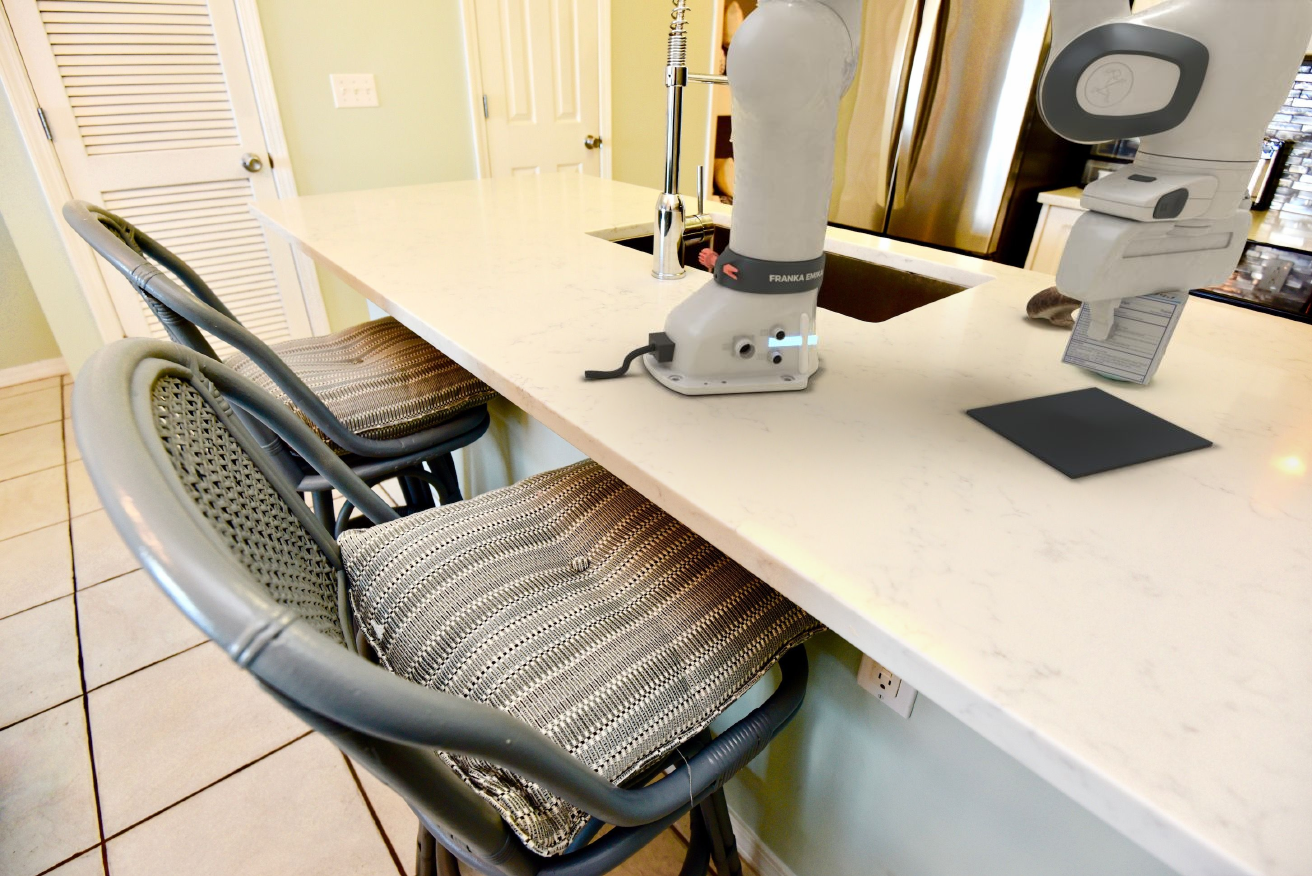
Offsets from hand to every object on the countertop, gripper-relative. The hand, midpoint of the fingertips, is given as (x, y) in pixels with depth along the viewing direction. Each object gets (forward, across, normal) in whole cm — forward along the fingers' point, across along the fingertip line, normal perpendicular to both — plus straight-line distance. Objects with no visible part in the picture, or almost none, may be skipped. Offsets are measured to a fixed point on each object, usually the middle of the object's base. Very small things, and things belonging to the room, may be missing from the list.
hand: (1123, 334), depth 67 cm
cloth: (+11, 0, 0) cm, 11 cm away
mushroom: (+11, -25, -27) cm, 38 cm away
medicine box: (+4, 0, 0) cm, 4 cm away
